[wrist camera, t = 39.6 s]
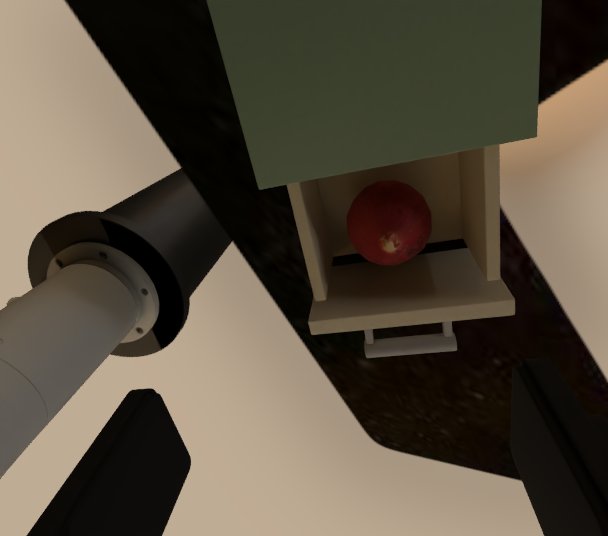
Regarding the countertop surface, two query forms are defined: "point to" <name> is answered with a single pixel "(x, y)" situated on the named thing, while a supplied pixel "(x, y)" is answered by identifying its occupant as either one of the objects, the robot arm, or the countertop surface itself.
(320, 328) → the drawer
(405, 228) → the onion
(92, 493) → the robot arm
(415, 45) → the cabinet
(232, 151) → the countertop surface
